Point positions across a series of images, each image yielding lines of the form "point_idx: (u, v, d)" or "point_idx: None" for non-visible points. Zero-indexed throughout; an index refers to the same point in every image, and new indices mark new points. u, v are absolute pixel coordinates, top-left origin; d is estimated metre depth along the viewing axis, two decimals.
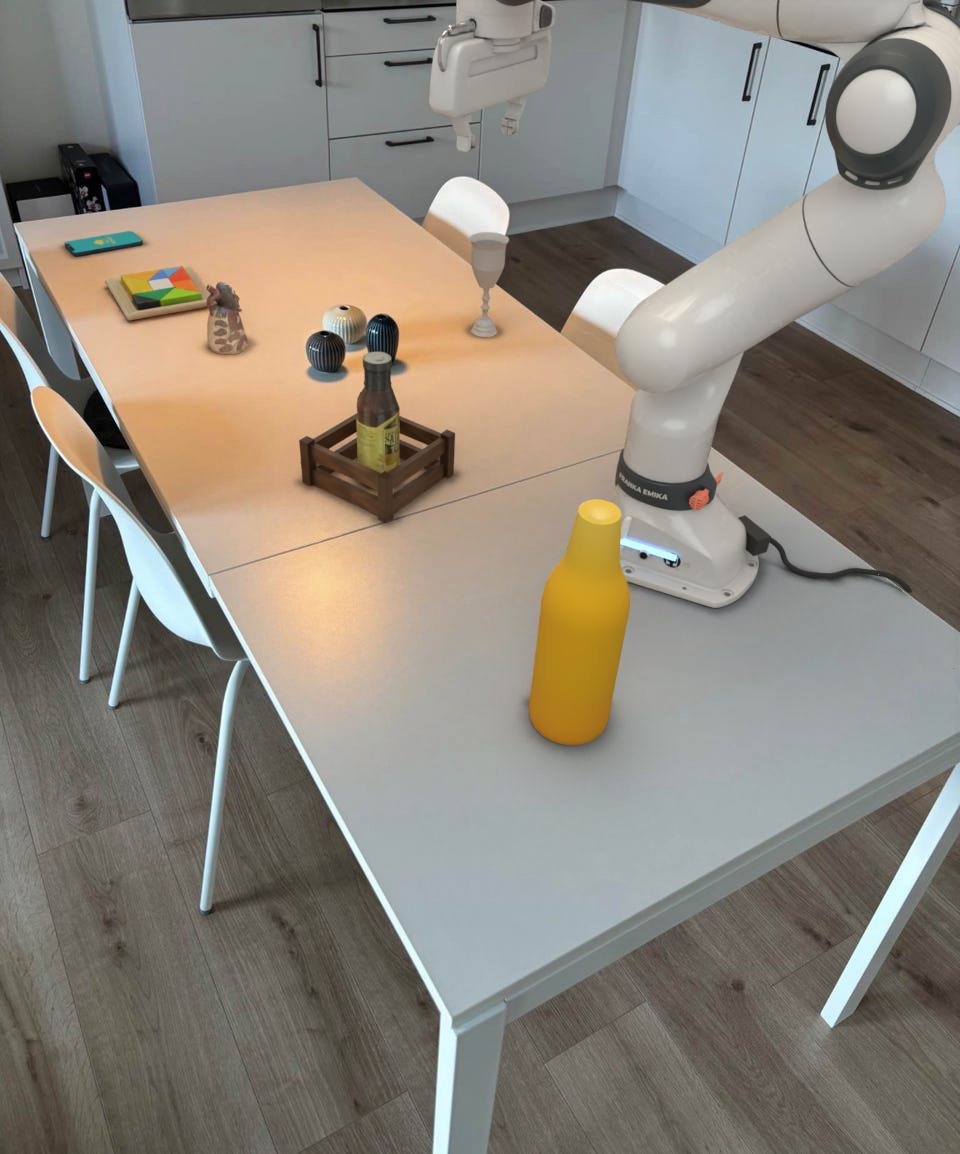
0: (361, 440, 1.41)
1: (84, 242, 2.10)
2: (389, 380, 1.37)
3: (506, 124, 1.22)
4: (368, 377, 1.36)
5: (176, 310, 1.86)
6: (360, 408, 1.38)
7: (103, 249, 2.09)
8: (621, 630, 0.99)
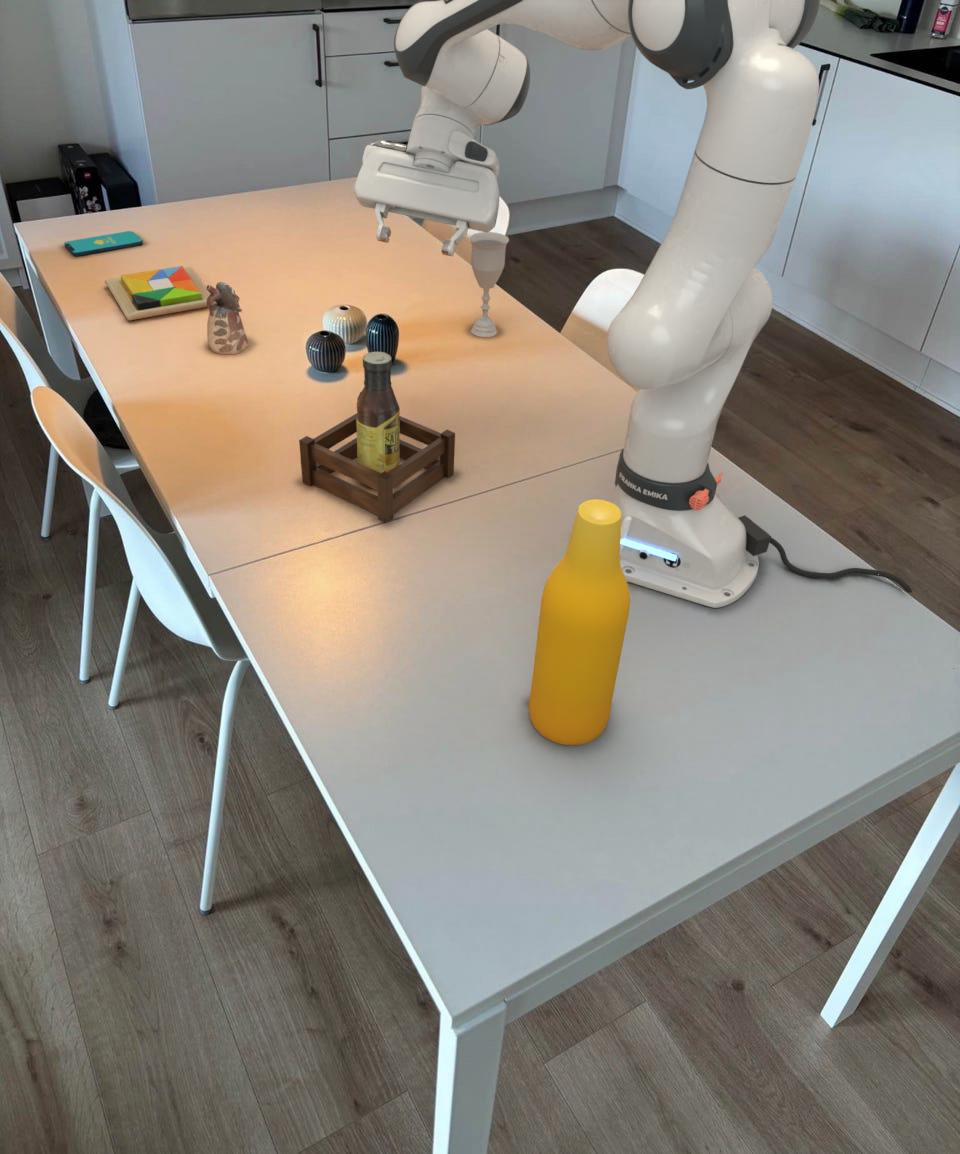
0: (361, 440, 1.41)
1: (84, 242, 2.10)
2: (389, 380, 1.37)
3: None
4: (368, 377, 1.36)
5: (176, 310, 1.86)
6: (360, 408, 1.38)
7: (103, 249, 2.09)
8: (621, 630, 0.99)
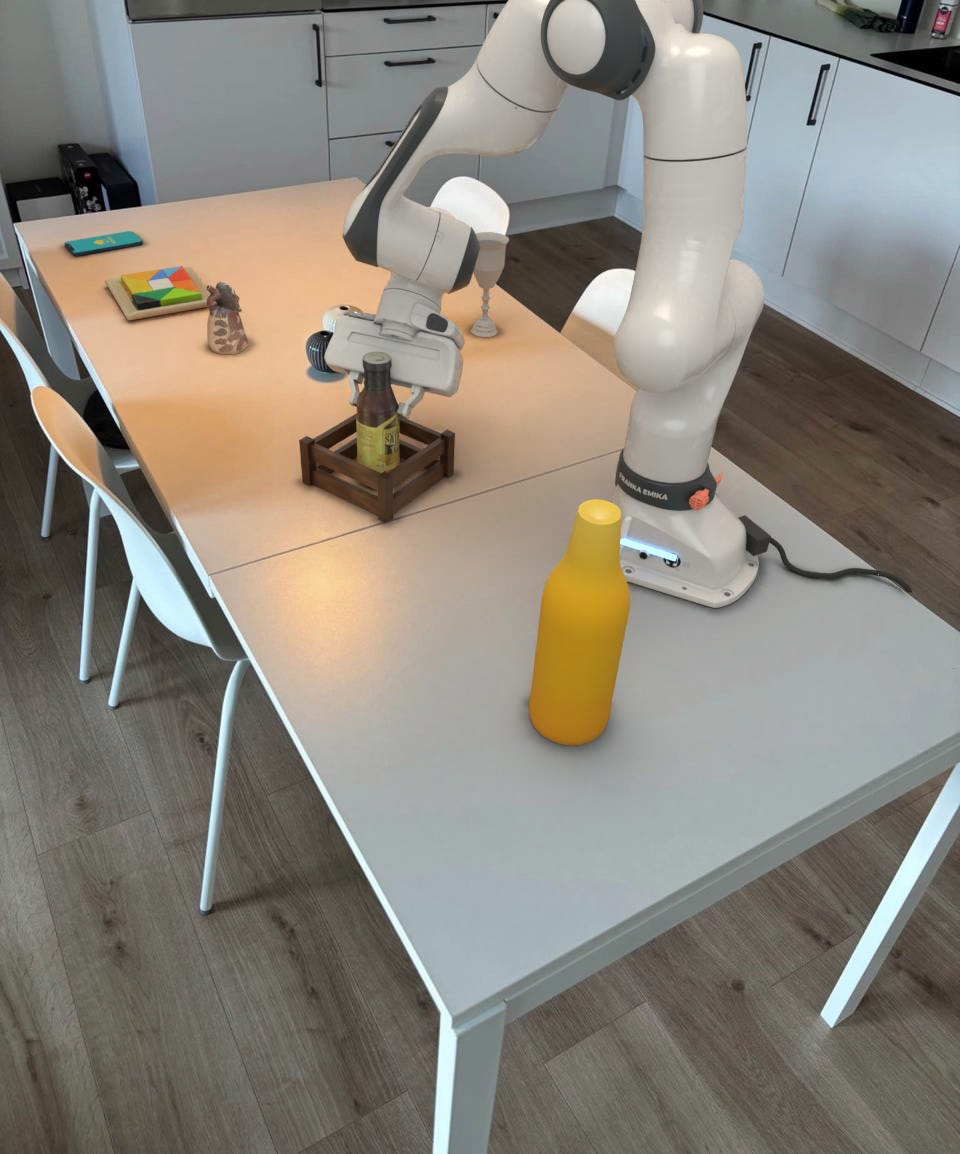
0: (360, 440, 1.41)
1: (84, 242, 2.10)
2: (389, 380, 1.37)
3: None
4: (368, 377, 1.36)
5: (176, 310, 1.86)
6: (360, 408, 1.38)
7: (103, 249, 2.09)
8: (621, 630, 0.99)
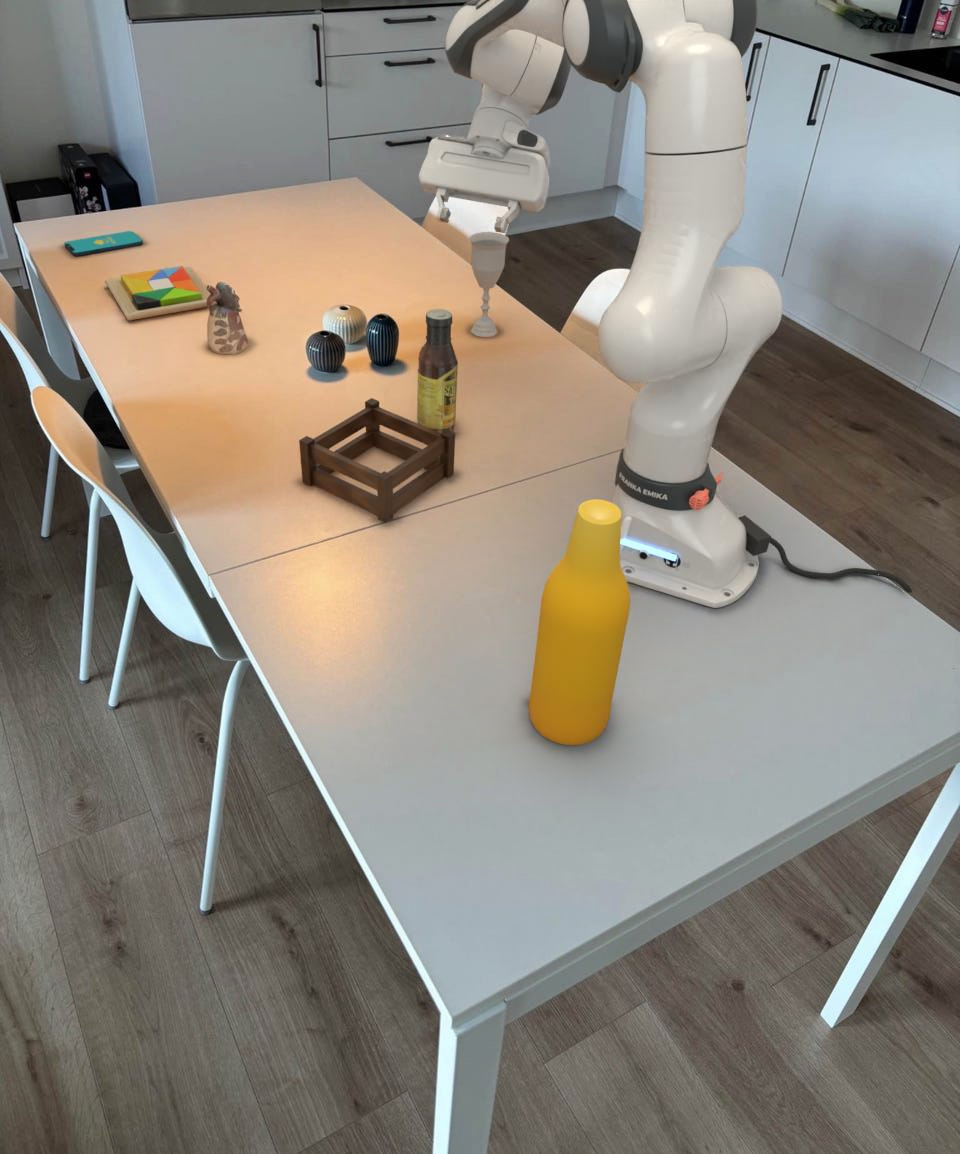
0: (421, 392, 1.53)
1: (84, 242, 2.10)
2: (449, 335, 1.49)
3: None
4: (430, 332, 1.47)
5: (176, 310, 1.86)
6: (422, 361, 1.50)
7: (103, 249, 2.09)
8: (621, 630, 0.99)
